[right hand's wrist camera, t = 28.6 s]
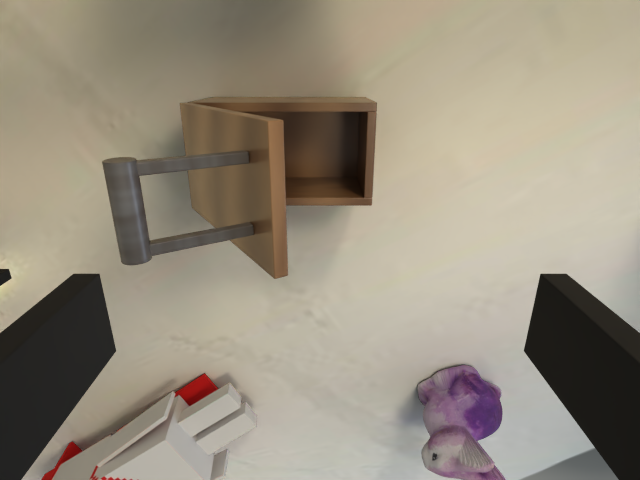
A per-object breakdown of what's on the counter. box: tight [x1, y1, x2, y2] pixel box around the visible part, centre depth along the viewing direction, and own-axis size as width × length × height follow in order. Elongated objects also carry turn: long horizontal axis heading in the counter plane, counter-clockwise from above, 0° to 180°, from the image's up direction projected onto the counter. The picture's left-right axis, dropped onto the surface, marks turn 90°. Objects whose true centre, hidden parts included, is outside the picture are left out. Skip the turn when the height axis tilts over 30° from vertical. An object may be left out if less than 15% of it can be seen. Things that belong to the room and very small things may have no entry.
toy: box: [42, 373, 257, 480], centre depth 56 cm, size 12×13×30 cm
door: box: [102, 103, 288, 279], centre depth 28 cm, size 17×9×9 cm
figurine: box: [417, 365, 506, 480], centre depth 51 cm, size 9×10×15 cm
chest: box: [188, 97, 377, 205], centre depth 41 cm, size 16×9×9 cm, turn 90°
